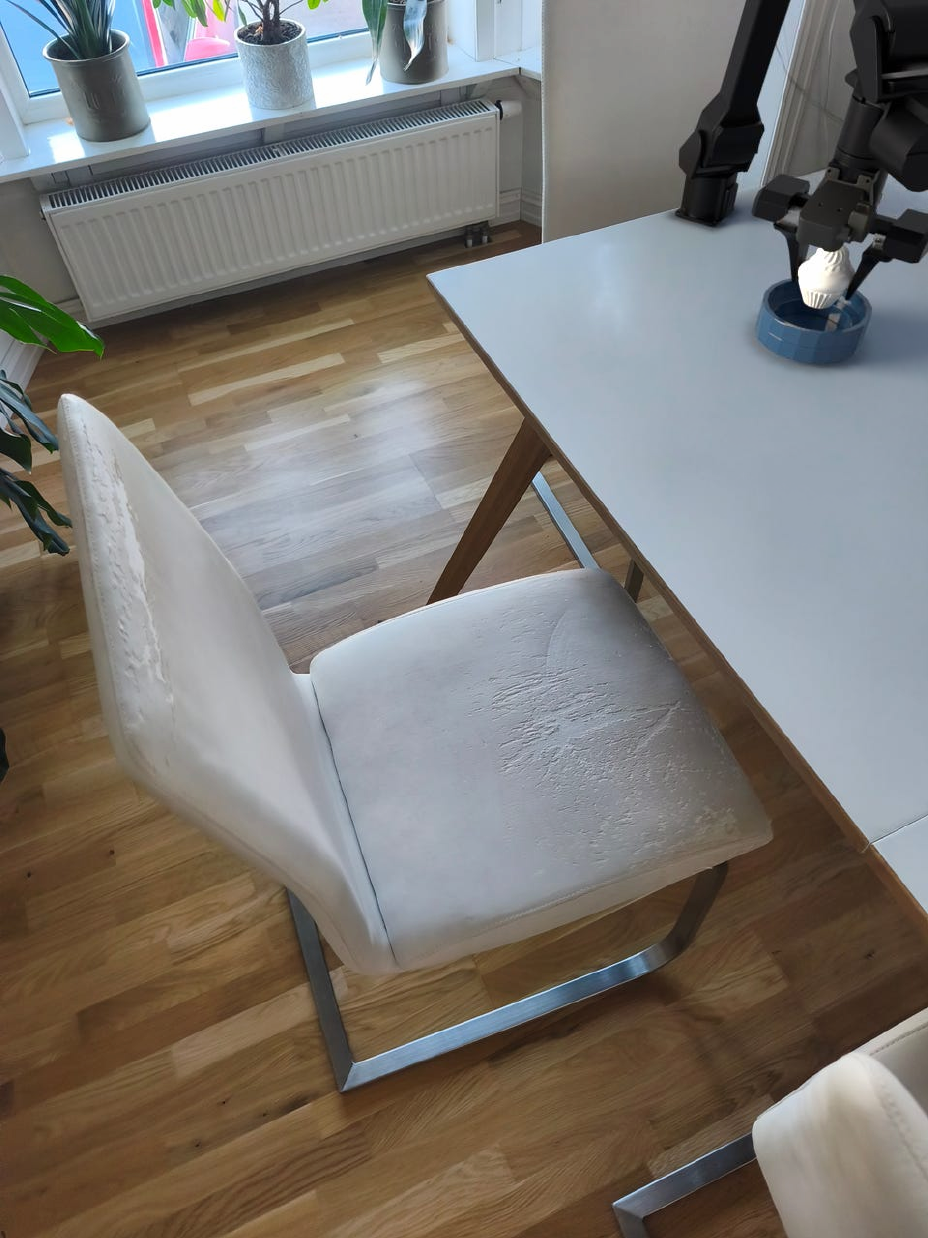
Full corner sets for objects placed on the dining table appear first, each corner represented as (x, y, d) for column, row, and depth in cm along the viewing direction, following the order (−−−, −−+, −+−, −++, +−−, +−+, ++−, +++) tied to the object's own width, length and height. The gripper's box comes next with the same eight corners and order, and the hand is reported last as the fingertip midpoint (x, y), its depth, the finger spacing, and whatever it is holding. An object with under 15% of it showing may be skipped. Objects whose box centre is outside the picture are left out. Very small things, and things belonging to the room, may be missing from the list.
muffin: (791, 284, 102) (807, 227, 96) (845, 290, 100) (864, 232, 95) (789, 312, 98) (806, 254, 92) (845, 319, 97) (865, 260, 91)
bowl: (736, 344, 102) (744, 310, 99) (781, 300, 108) (790, 266, 105) (833, 380, 97) (846, 345, 94) (875, 331, 103) (888, 297, 100)
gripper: (745, 153, 86) (714, 295, 98) (931, 203, 78) (872, 350, 90) (793, 115, 91) (758, 254, 103) (971, 158, 83) (911, 303, 96)
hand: (820, 289), depth 98 cm, fingers closed on muffin, 6 cm apart
